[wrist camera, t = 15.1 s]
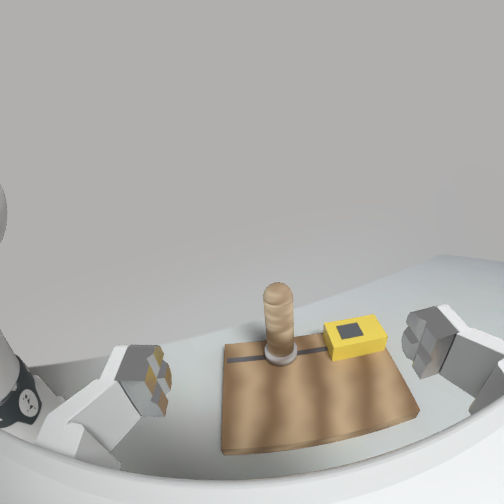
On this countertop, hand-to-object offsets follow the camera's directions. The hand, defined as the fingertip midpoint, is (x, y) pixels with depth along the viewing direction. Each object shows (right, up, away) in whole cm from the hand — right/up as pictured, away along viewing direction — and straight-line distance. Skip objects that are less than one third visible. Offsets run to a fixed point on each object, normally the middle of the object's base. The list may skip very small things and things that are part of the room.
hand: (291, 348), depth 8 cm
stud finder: (+15, -12, +34) cm, 39 cm away
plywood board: (+8, -17, +29) cm, 34 cm away
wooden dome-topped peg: (+3, -13, +33) cm, 36 cm away
